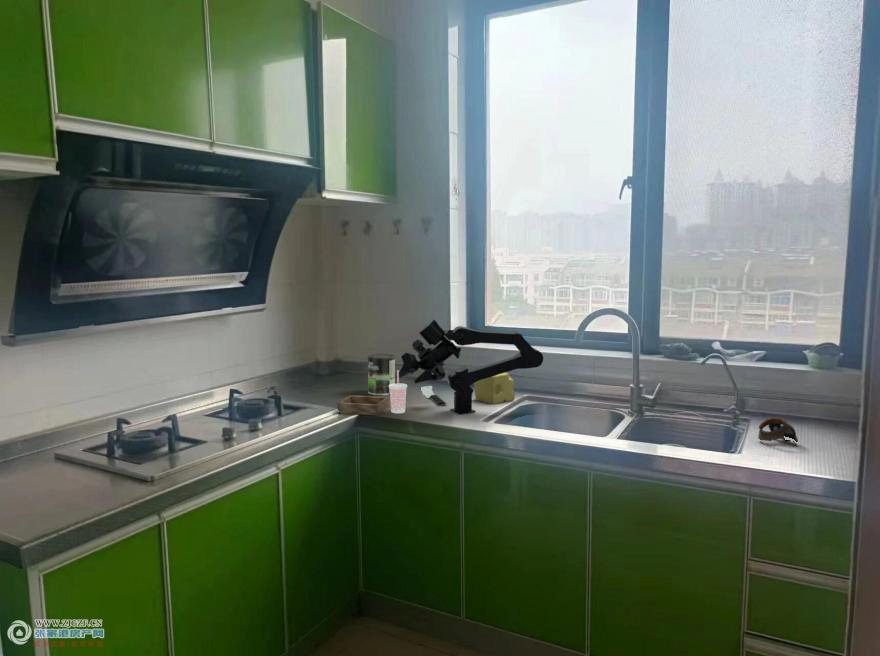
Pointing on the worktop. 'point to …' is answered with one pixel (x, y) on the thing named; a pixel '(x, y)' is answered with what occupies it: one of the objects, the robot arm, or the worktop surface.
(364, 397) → the tray
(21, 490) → the worktop surface
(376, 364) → the coffee can
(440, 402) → the kitchen cleaver
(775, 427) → the brown openwork dome
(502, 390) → the cheese
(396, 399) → the beverage cup
